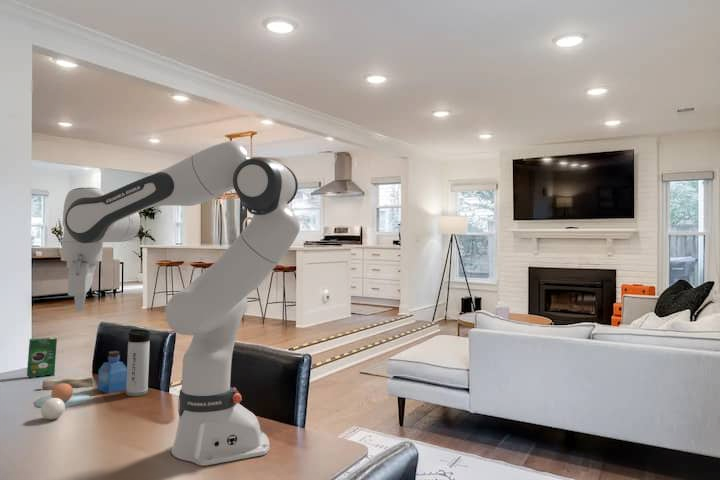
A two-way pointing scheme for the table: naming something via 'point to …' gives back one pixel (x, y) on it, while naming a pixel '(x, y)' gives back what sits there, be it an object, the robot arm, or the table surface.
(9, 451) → the table surface
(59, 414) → the cue ball
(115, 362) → the perfume bottle
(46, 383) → the rail
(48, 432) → the table surface
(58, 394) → the object ball
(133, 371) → the travel mug
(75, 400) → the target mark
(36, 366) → the coffee box
